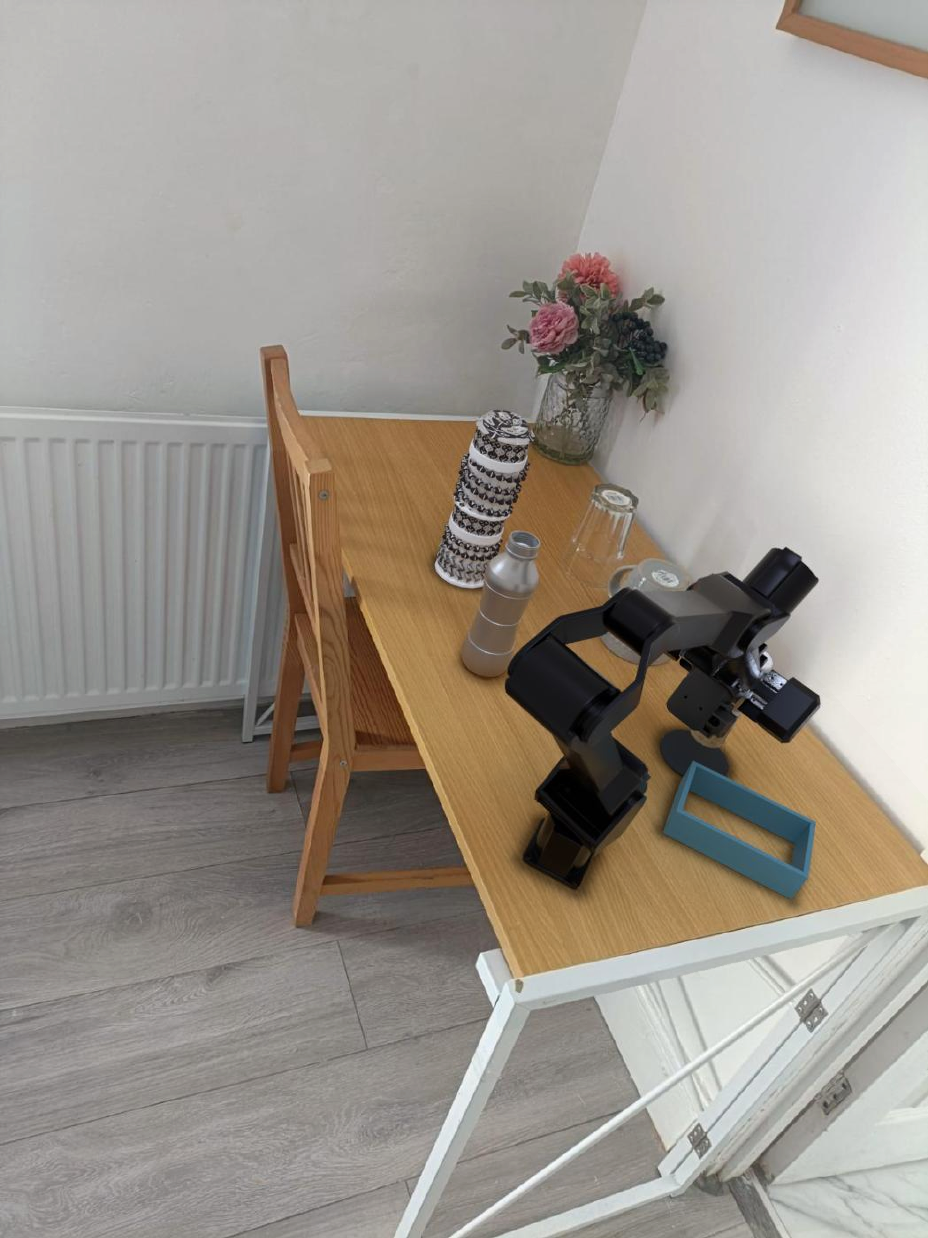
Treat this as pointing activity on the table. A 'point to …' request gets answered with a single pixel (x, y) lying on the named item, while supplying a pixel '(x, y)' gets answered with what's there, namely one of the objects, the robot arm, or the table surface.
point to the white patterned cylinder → (484, 497)
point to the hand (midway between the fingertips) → (736, 690)
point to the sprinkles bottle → (719, 742)
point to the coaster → (690, 753)
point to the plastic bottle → (502, 606)
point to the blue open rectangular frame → (734, 849)
